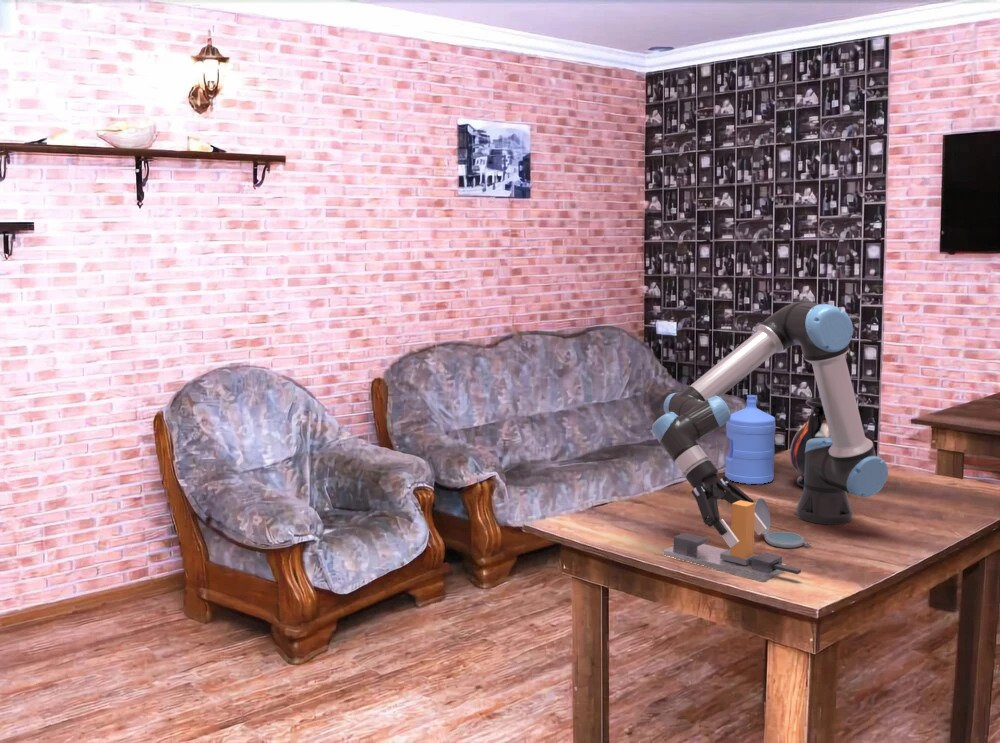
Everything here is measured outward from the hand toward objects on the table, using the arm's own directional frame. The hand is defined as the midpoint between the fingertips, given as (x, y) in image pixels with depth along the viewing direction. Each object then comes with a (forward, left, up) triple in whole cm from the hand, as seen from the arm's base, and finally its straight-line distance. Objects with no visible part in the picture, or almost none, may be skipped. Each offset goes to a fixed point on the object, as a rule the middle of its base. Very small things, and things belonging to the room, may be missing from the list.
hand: (749, 538), depth 240 cm
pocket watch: (-9, -23, -8) cm, 26 cm away
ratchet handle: (-3, +2, -6) cm, 7 cm away
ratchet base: (+6, -4, -8) cm, 10 cm away
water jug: (-2, -90, -8) cm, 90 cm away
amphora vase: (-25, -85, -8) cm, 89 cm away
